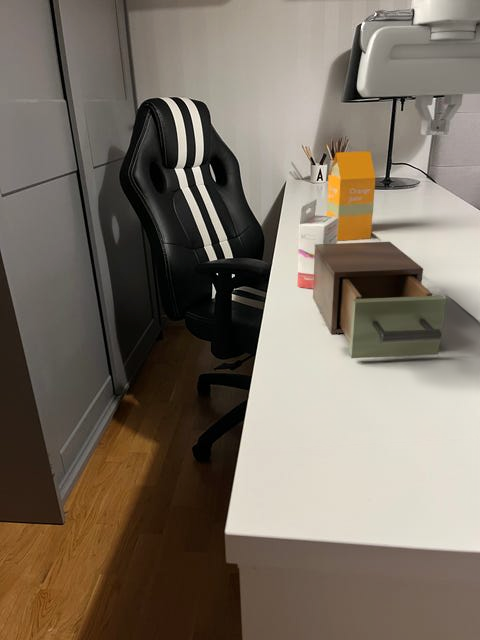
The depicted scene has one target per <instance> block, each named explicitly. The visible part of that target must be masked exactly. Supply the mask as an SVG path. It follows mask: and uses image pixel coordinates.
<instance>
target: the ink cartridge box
mask: <svg viewBox="0 0 480 640" xmlns="http://www.w3.org/2000/svg"><path fill="white" fill-rule="evenodd" d="M316 207H317V199H314V200H312V201H310V202H308V203H306V204H304V205H301V207H300V214H299V222H298V245H297V246H298V247H297V248H298V250H297V256H298V257H297V287H299V288H306V289H312V290H313V281H314V254H315V244H337V243H338V241H337V231H338V219H339V217H333V216H327V215H318V214H317V215H316V210H317V208H316ZM308 210H310V211H308ZM307 211H308V212H307Z"/></svg>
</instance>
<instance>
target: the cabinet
mask: <svg viewBox="0 0 480 640" xmlns="http://www.w3.org/2000/svg"><path fill="white" fill-rule="evenodd" d="M338 243H339V244H315V254H314V281H313V289H312V299H313V301H314V303H315V305H316V307H317V309H318V311H319V313H320V315H321V317H322V319H323V322H324V323H325V325H326V327H327V329H328V331H329V333H330V335H340V334H339V333H344V332H343V330H342V329H341V327H340V325H339V323H338V321H337V312H338V295H339V277H356V276H381V275H406V274H411V275H412V276H413V277H414V278H416V279H417V280H418V281H419V282H420V283H421V284H422V282H423V274H424V267H422V266H421V265H420V264H418V262H416V261H415V260H414V259H412V258H411V257H410V256H408V255H407V254H406V253H405V252H404V251H402V250H401V249H400V248H398V247H397V246H396V245H395V244H394V243H392V242H391V241H371V242H370V241H367V242H365V241H364V242H338ZM336 333H337V334H336Z"/></svg>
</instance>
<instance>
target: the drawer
mask: <svg viewBox="0 0 480 640" xmlns="http://www.w3.org/2000/svg"><path fill="white" fill-rule="evenodd" d="M446 303H447V298H446V297H445V296H444V295H433V292H431V290H430V289H428V288H427V287H426V286H425V285H423V284H422V283H420V282H419V281H418V280H417V279H416V278H414V277H413V276H412V275H411V274H406V275H381V276H356V277H339V295H338V312H337V321H338V323H339V325H340V327H341V329H342V330H343V332H344V334H343V335H344V336H345V337H346V339H347V341H348V343H349V353H348V355H349V357H350V358H351V359H366V358H368V359H369V358H389V357H391V358H392V357H409V356H411V357H412V356H432V355H438V354H439V349H440V343H441V340H442V335H443V334H442V330H443V323H444V319H445V318H444V317H445V310H446Z"/></svg>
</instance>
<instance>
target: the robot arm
mask: <svg viewBox="0 0 480 640" xmlns="http://www.w3.org/2000/svg"><path fill="white" fill-rule="evenodd" d="M371 20H372V21H371ZM359 34H360V35H359V47H360V50H361V51H362V52H361V56H360V61H359V67H358V73H357V81H356V89H357V92H358V94H359V95H360V96H361V97H362V98H379V97H380V98H381V97H382V98H383V97H384V98H385V97H386V98H387V97H415V99H414V100H415V101H414V107H415V109H416V111H417V113H418V116H419V118H420V120H421V127H420V135H421V136H447V135H448V134H449V133H450V132H449V131H450V126H451V125H450V124H451V120H452V119H453V118H454V117H455V115H456V114H457V112H458V110H459V109H460V108H461V106H462V103H463V97H464V95H480V0H411V2H410V9H397V10H387V9H386V10H384V9H382V10H381V9H380V10H375V11H374V12H373V14H370V15H369V16H367V17H366V18H365V19H364V21H363V22H362V24H361V26H360V31H359ZM434 96H443V97H444V98H443V105H445V106H446V107H445V109H444V111H443V112H442V114H441V115H440V117H439V118H437V119H433V116H432V114H431V111H430V109H429V107H428V106H432V105H433V102H434Z"/></svg>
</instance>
